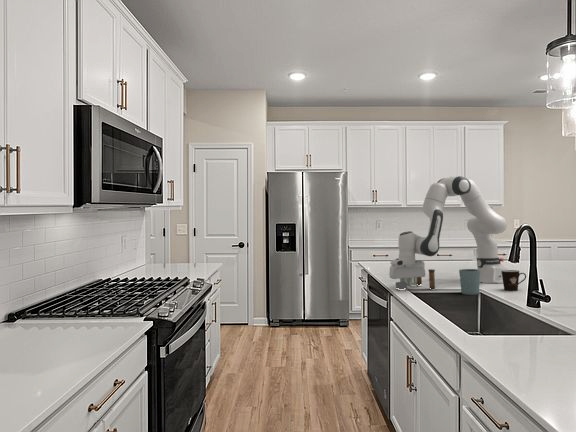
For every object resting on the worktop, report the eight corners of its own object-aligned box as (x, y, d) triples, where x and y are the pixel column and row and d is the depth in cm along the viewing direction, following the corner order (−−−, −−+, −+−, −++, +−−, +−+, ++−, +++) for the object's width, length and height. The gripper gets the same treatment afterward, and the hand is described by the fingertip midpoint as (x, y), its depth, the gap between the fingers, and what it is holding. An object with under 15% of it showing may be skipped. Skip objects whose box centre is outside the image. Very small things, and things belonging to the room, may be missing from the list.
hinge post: (420, 285, 278) (419, 266, 278) (423, 286, 274) (422, 267, 274) (415, 285, 277) (414, 267, 277) (418, 286, 274) (417, 267, 274)
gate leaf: (417, 284, 274) (416, 270, 274) (402, 286, 270) (401, 272, 270) (415, 284, 276) (414, 270, 276) (400, 286, 272) (399, 271, 272)
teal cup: (458, 294, 244) (457, 270, 244) (461, 291, 253) (460, 268, 253) (479, 295, 239) (479, 271, 239) (482, 292, 248) (481, 268, 248)
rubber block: (403, 288, 267) (403, 281, 267) (407, 290, 263) (406, 282, 263) (395, 289, 266) (395, 282, 266) (399, 290, 262) (399, 283, 262)
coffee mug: (501, 290, 250) (500, 271, 250) (502, 288, 257) (501, 269, 257) (526, 291, 244) (525, 272, 244) (526, 289, 252) (526, 270, 252)
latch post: (432, 288, 266) (431, 268, 266) (437, 289, 260) (436, 269, 260) (426, 288, 265) (425, 269, 265) (431, 290, 260) (430, 270, 260)
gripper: (421, 259, 271) (422, 284, 271) (387, 261, 266) (388, 286, 266) (427, 260, 265) (427, 285, 265) (392, 262, 260) (393, 288, 260)
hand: (407, 286), depth 265 cm, fingers closed
